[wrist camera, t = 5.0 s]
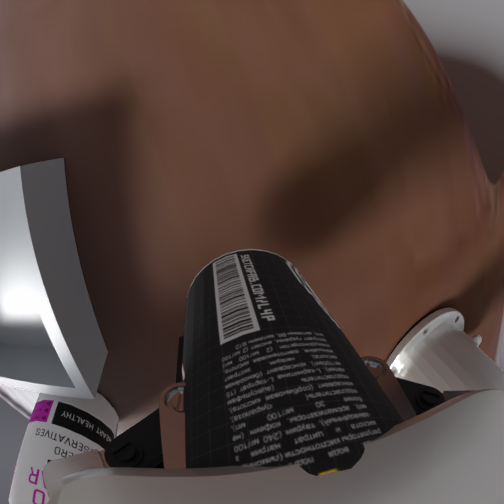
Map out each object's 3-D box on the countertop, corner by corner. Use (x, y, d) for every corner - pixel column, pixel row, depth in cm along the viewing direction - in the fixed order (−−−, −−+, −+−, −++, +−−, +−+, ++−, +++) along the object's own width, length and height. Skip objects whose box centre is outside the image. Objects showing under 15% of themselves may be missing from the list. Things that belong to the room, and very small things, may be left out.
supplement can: (62, 420, 20) (42, 533, 7) (31, 368, 17) (-15, 502, 4) (128, 429, 22) (125, 557, 8) (105, 379, 19) (82, 545, 5)
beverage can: (256, 356, 15) (317, 561, 4) (165, 312, 13) (146, 573, 2) (322, 281, 14) (475, 482, 3) (232, 218, 12) (368, 555, 1)
